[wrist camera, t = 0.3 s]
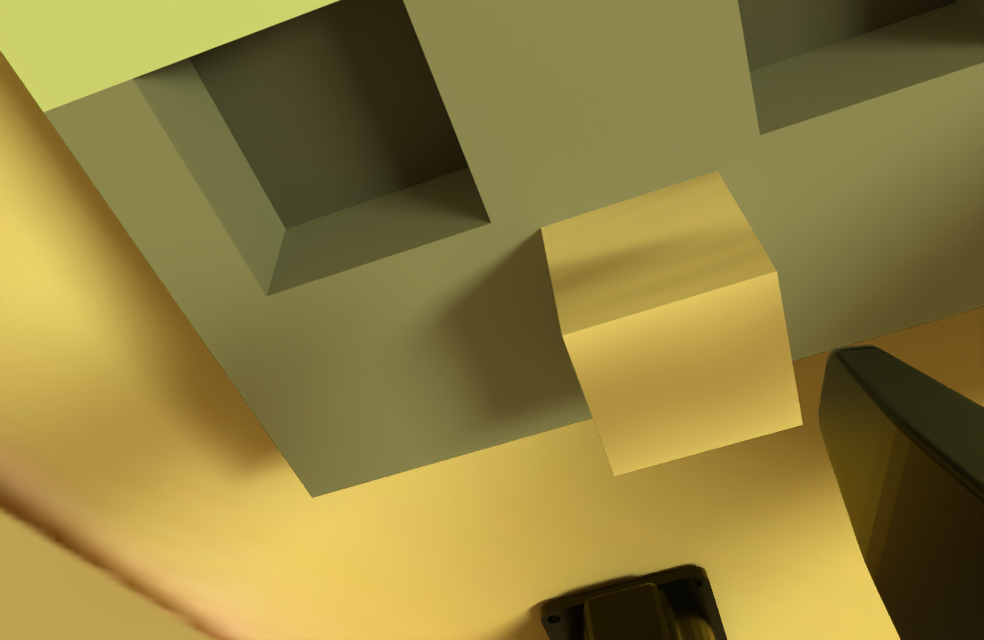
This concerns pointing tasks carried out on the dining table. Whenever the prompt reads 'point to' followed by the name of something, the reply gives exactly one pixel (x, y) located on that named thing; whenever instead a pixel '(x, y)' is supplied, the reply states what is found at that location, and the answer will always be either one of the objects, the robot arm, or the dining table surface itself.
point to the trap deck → (500, 182)
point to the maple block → (673, 324)
